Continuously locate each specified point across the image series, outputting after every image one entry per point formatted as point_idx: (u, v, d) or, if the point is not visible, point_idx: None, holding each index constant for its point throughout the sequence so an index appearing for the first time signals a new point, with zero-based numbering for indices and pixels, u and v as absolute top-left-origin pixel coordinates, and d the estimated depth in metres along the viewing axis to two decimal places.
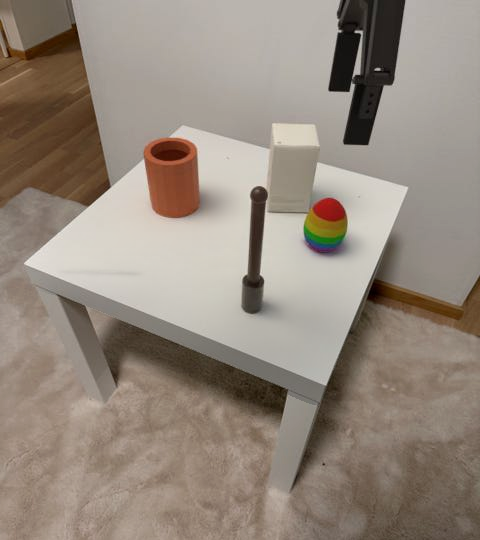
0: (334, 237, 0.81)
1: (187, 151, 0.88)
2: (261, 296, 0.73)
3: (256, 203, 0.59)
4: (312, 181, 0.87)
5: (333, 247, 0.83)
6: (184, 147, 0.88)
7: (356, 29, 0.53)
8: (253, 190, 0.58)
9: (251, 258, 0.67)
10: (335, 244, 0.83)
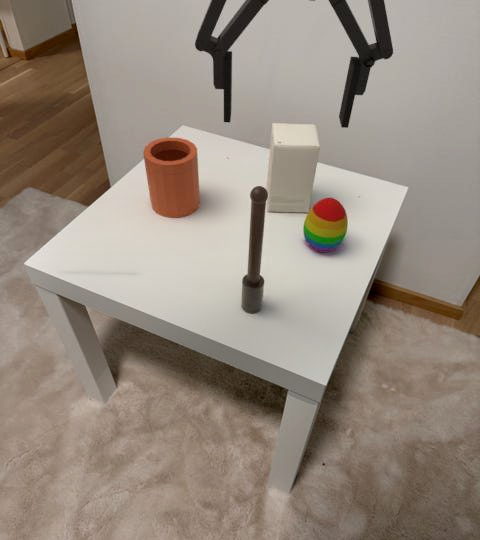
0: (334, 237, 0.81)
1: (187, 151, 0.88)
2: (261, 296, 0.73)
3: (256, 203, 0.59)
4: (312, 181, 0.87)
5: (333, 247, 0.83)
6: (184, 147, 0.88)
7: None
8: (253, 190, 0.58)
9: (251, 258, 0.67)
10: (335, 244, 0.83)
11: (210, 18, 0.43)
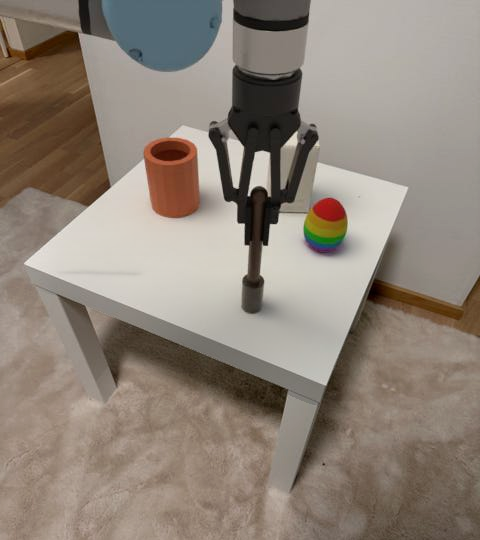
0: (334, 237, 0.81)
1: (187, 151, 0.88)
2: (261, 296, 0.73)
3: (256, 203, 0.59)
4: (312, 181, 0.87)
5: (333, 247, 0.83)
6: (184, 147, 0.88)
7: None
8: (253, 190, 0.58)
9: (251, 258, 0.67)
10: (335, 244, 0.83)
11: (225, 180, 0.56)
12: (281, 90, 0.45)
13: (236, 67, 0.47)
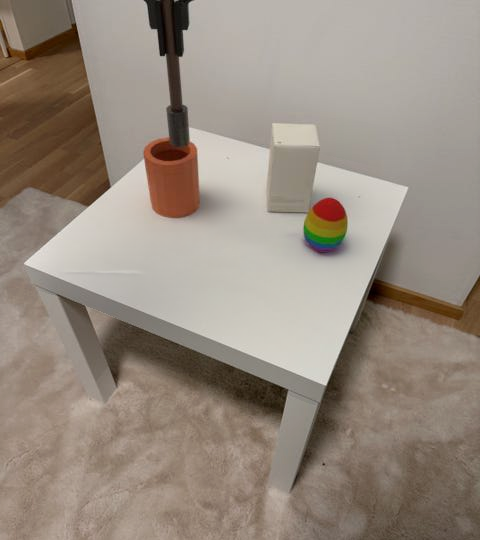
0: (334, 237, 0.81)
1: (187, 151, 0.88)
2: (186, 126, 0.76)
3: (164, 1, 0.62)
4: (312, 181, 0.87)
5: (333, 247, 0.83)
6: (184, 147, 0.88)
7: None
8: None
9: (169, 75, 0.70)
10: (335, 244, 0.83)
11: None
12: None
13: None
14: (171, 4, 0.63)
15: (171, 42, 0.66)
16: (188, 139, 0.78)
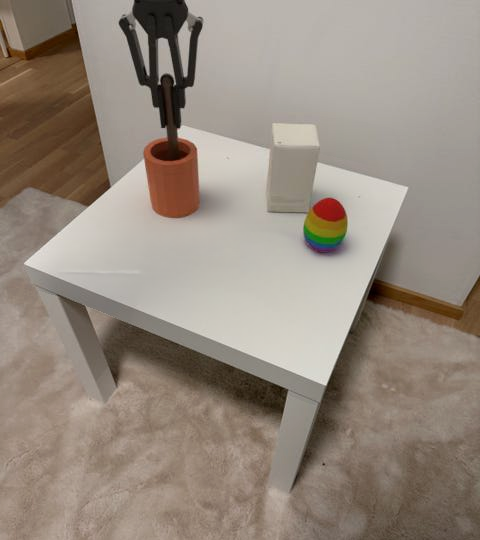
0: (334, 237, 0.81)
1: (187, 151, 0.88)
2: None
3: (165, 87, 0.75)
4: (312, 181, 0.87)
5: (333, 247, 0.83)
6: (184, 147, 0.88)
7: (158, 81, 0.76)
8: (161, 76, 0.75)
9: (169, 142, 0.83)
10: (335, 244, 0.83)
11: (137, 65, 0.73)
12: None
13: None
14: (170, 89, 0.76)
15: (170, 117, 0.79)
16: None
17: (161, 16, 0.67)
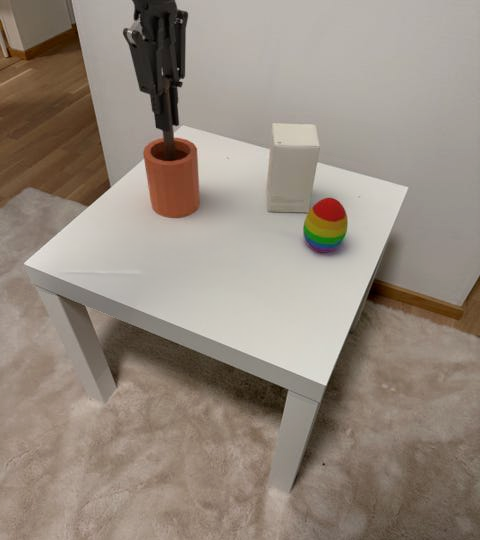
0: (334, 237, 0.81)
1: (187, 151, 0.88)
2: None
3: (166, 88, 0.75)
4: (312, 181, 0.87)
5: (333, 247, 0.83)
6: (184, 147, 0.88)
7: None
8: None
9: (170, 144, 0.83)
10: (335, 244, 0.83)
11: (149, 75, 0.70)
12: None
13: None
14: (169, 89, 0.76)
15: (171, 117, 0.80)
16: None
17: (162, 16, 0.68)
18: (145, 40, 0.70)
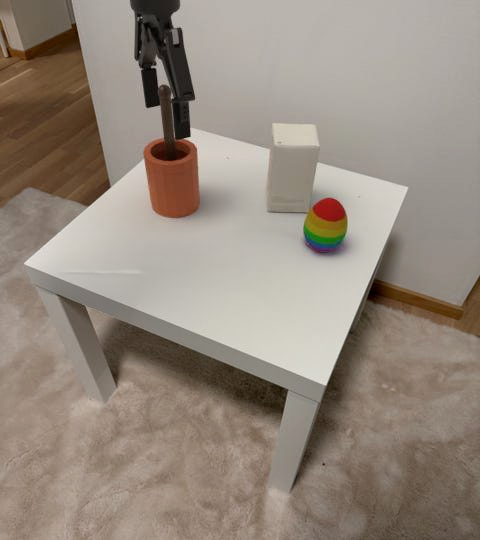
0: (334, 237, 0.81)
1: (187, 151, 0.88)
2: None
3: None
4: (312, 181, 0.87)
5: (333, 247, 0.83)
6: (184, 147, 0.88)
7: None
8: (166, 88, 0.76)
9: (175, 149, 0.85)
10: (335, 244, 0.83)
11: None
12: None
13: None
14: None
15: None
16: None
17: None
18: None
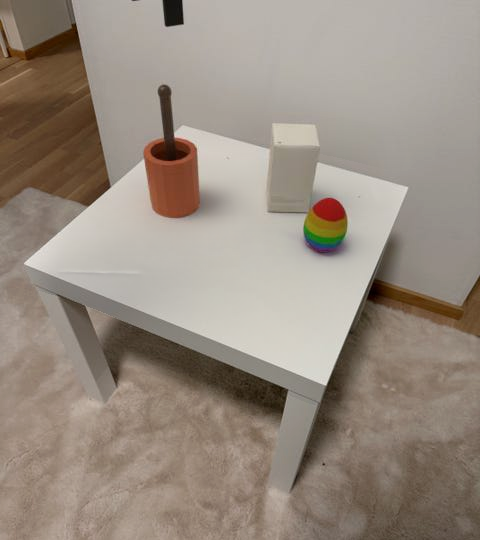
0: (334, 237, 0.81)
1: (187, 151, 0.88)
2: None
3: None
4: (312, 181, 0.87)
5: (333, 247, 0.83)
6: (184, 147, 0.88)
7: None
8: (166, 88, 0.76)
9: (175, 149, 0.85)
10: (335, 244, 0.83)
11: None
12: None
13: None
14: None
15: None
16: None
17: None
18: None
